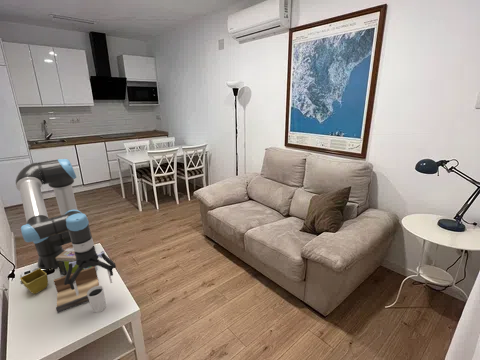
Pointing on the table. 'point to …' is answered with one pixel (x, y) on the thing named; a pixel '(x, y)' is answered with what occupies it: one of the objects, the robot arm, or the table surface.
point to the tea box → (66, 258)
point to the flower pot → (35, 281)
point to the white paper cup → (97, 298)
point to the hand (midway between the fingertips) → (94, 287)
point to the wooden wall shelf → (67, 295)
